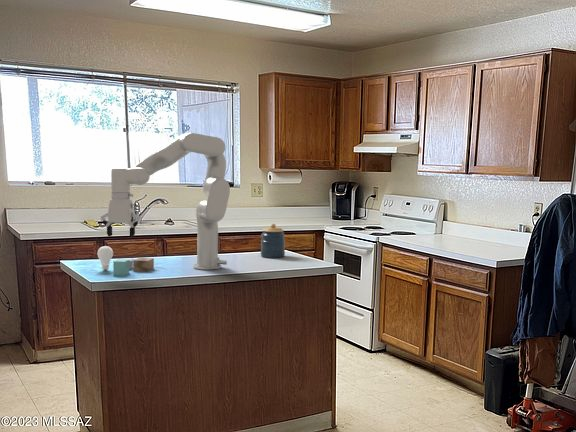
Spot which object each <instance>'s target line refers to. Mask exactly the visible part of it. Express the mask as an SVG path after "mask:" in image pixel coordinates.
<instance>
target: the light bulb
mask: <svg viewBox="0 0 576 432" xmlns="http://www.w3.org/2000/svg"><path fill="white" fill-rule="evenodd" d="M113 256H114V251H113V249H112V248H111V247H110V246H107V245H104V246H101V247H99V248H98V250H97V257H98V260H100V261H99V262H100V264H101V269H102V270H103V271H104V272H105V271H108V270H109V268H110V262H111V260H112V258H113Z"/></svg>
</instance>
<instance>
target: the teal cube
mask: <svg viewBox="0 0 576 432" xmlns="http://www.w3.org/2000/svg"><path fill="white" fill-rule="evenodd" d="M112 264H113V265H112V268H113V271H112V272H113V273H112V274H113V276H127V275H129V274H130V269H129V260H124V259H120V258H119V259H115V260H113V263H112Z"/></svg>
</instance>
